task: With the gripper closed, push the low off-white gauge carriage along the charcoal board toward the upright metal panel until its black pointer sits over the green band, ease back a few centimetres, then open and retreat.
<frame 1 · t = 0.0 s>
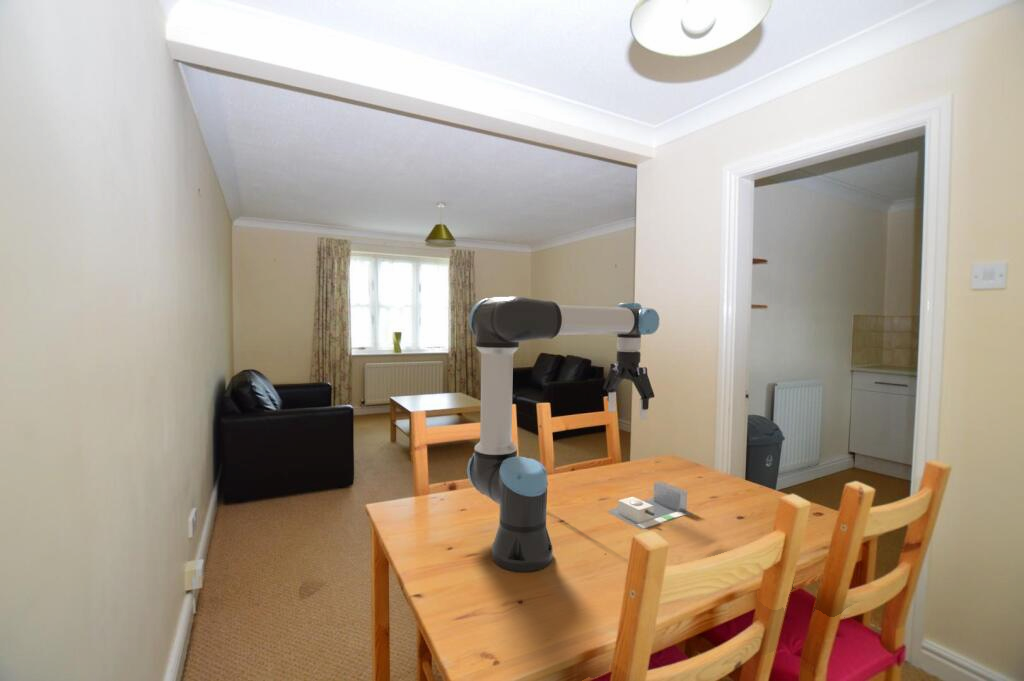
hand: (626, 415, 152), 28 cm above the table, fingers open, 13 cm apart
gauge board: (649, 515, 141), on the table
gauge carriage: (638, 510, 136), point 3 cm above the table, slide at 0.0 cm
upright metal panel: (669, 505, 145), resting on gauge board
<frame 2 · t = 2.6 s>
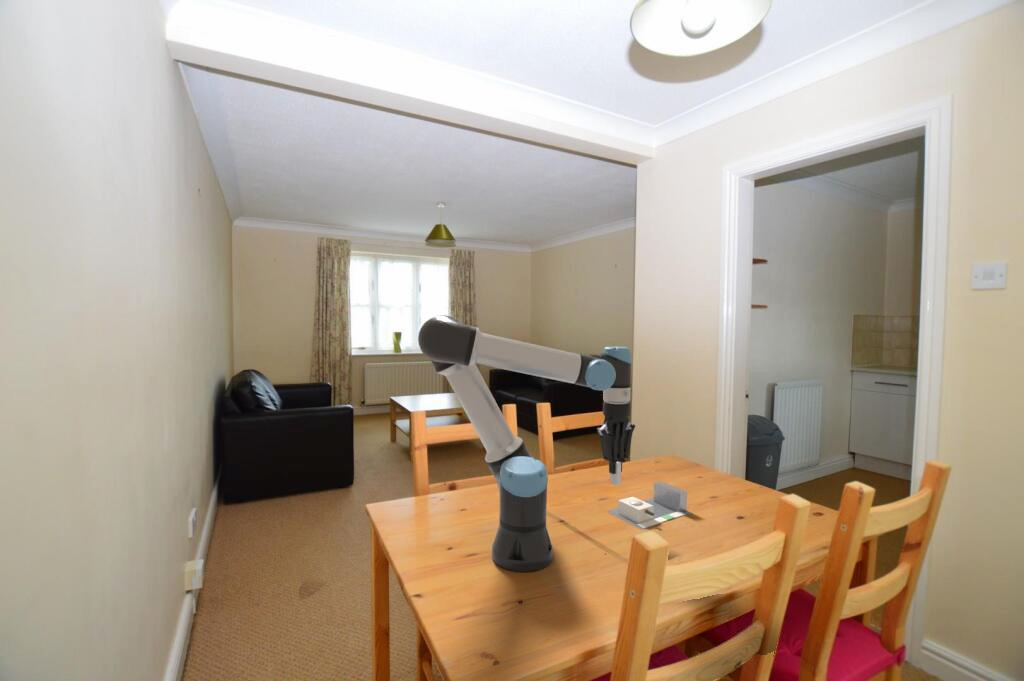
hand: (615, 484, 132), 12 cm above the table, fingers closed
nothing on the table moved.
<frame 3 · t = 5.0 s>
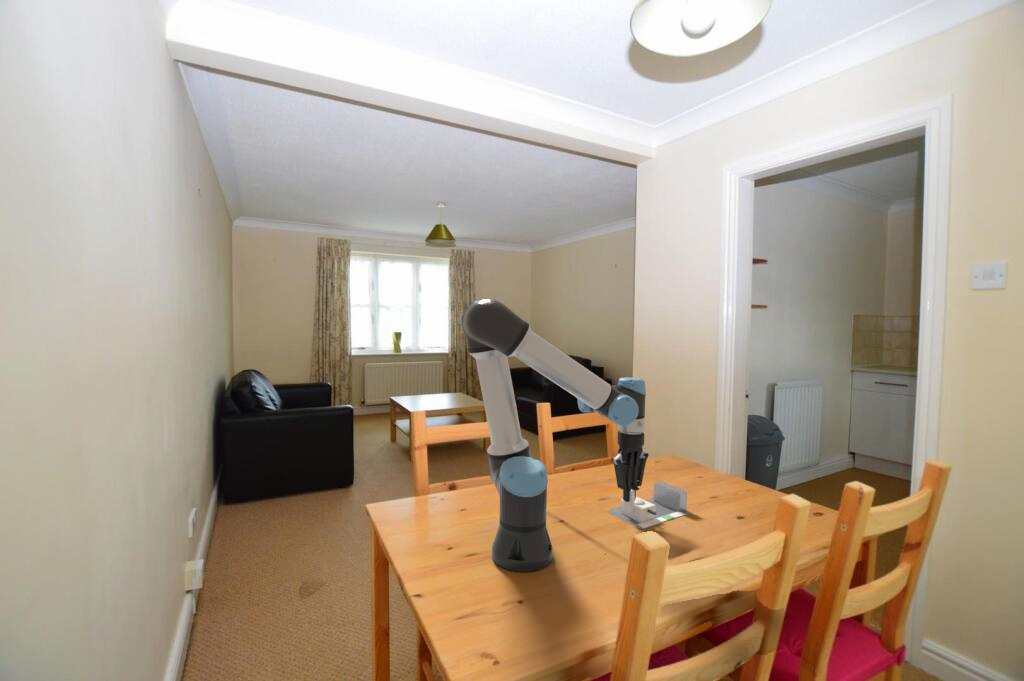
hand: (629, 511, 136), 3 cm above the table, fingers closed
gauge carriage: (641, 510, 137), point 3 cm above the table, slide at 0.9 cm, touching gripper
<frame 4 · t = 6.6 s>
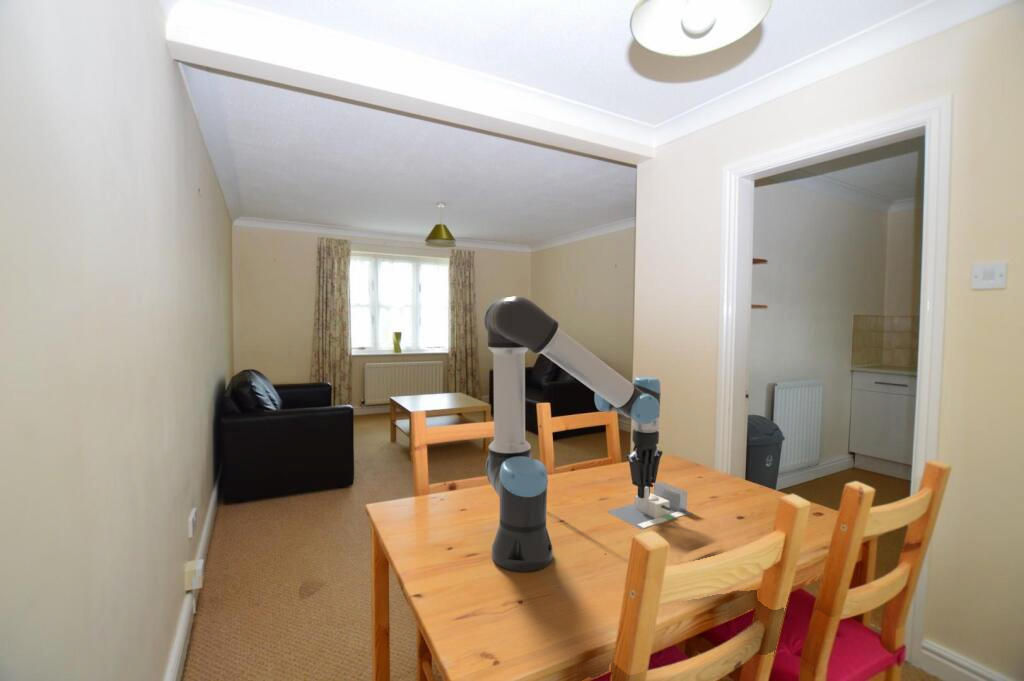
hand: (643, 507, 139), 3 cm above the table, fingers closed
gauge carriage: (655, 506, 140), point 3 cm above the table, slide at 7.0 cm, touching gripper
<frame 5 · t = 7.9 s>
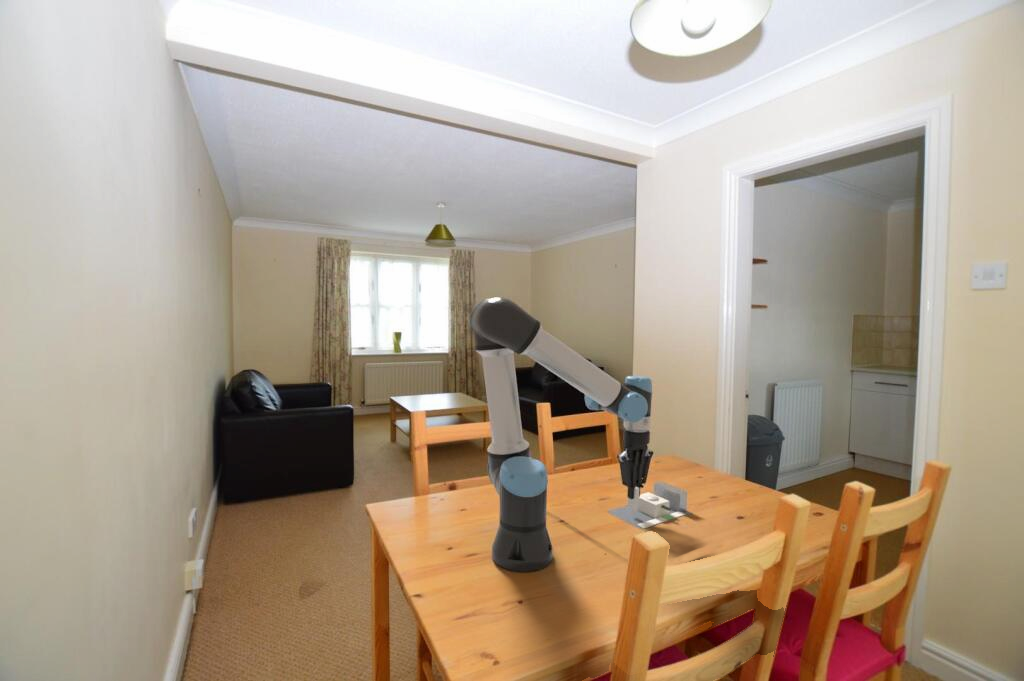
hand: (633, 508, 137), 4 cm above the table, fingers closed
gauge carriage: (655, 506, 140), point 3 cm above the table, slide at 7.0 cm
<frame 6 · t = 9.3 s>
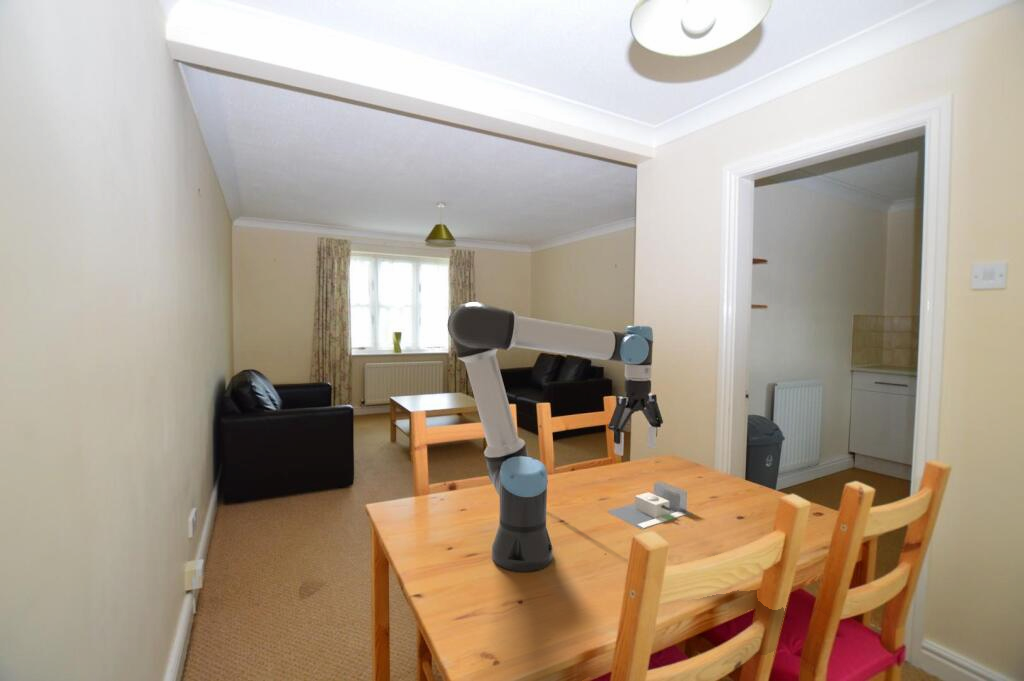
hand: (635, 451, 136), 21 cm above the table, fingers open, 13 cm apart
nothing on the table moved.
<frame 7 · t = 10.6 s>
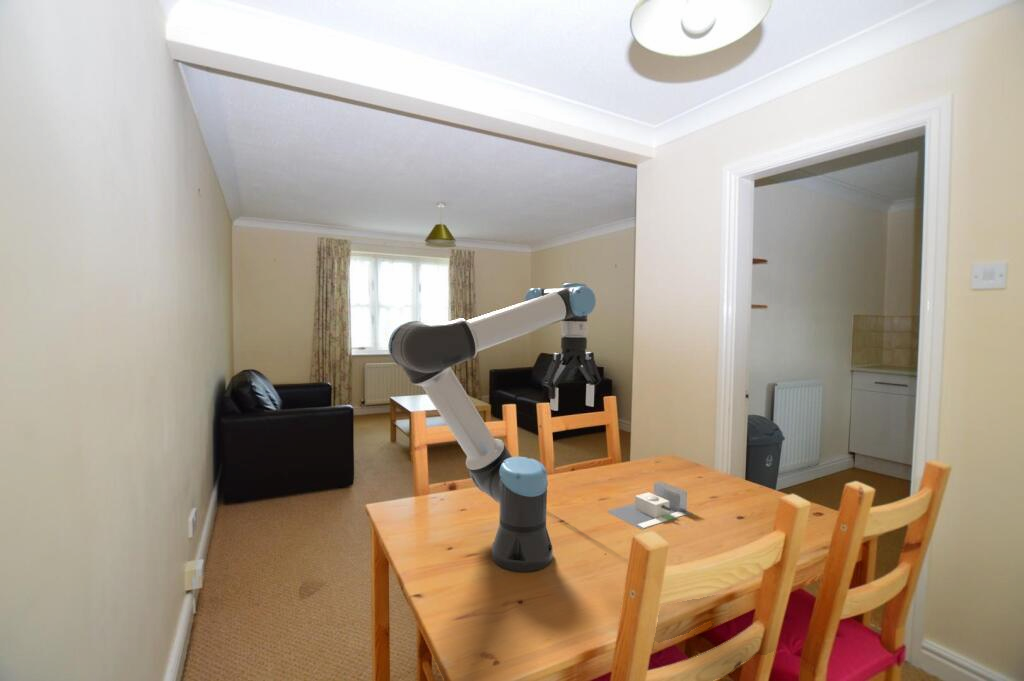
hand: (572, 408, 138), 33 cm above the table, fingers open, 13 cm apart
nothing on the table moved.
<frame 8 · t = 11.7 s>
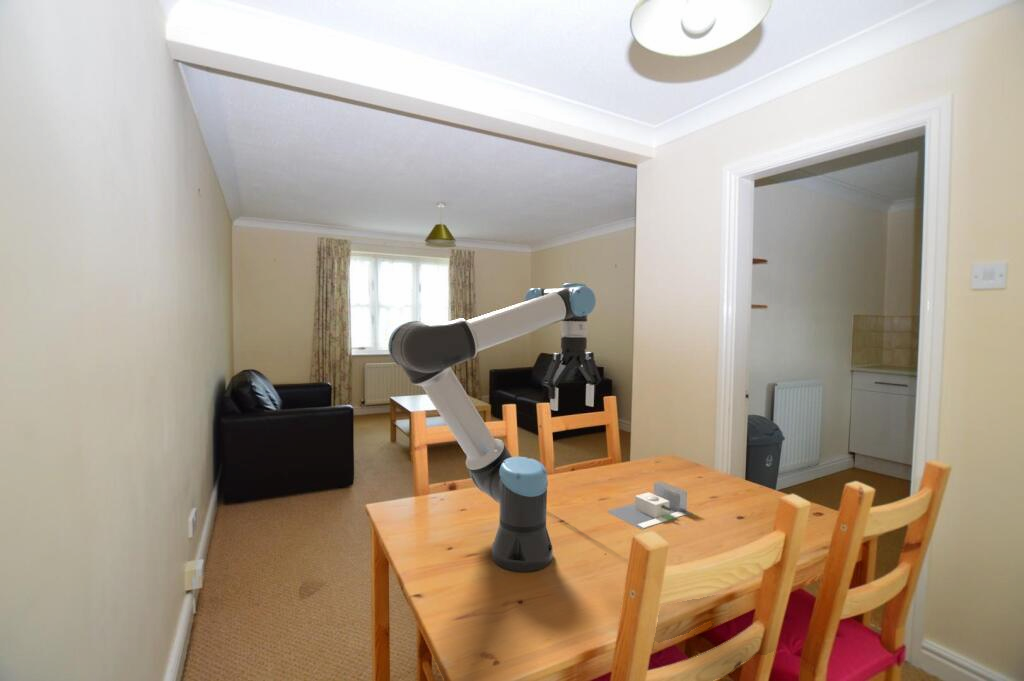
hand: (572, 407, 138), 33 cm above the table, fingers open, 13 cm apart
nothing on the table moved.
at the end: gauge carriage slide at 7.0 cm; gauge carriage touching nothing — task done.
